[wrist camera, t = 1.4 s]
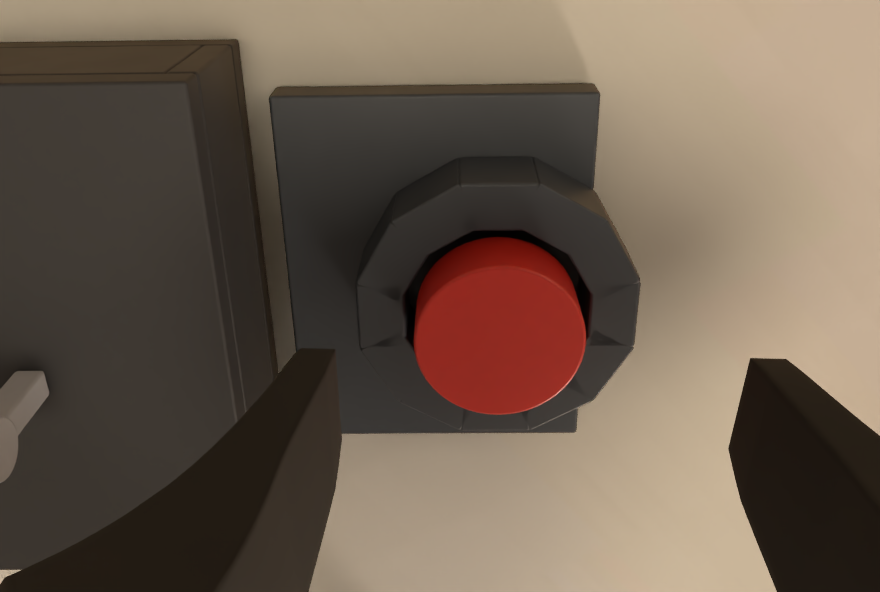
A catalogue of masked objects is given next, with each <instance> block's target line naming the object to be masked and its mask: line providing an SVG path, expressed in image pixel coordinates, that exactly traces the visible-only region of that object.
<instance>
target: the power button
mask: <svg viewBox="0 0 880 592" xmlns="http://www.w3.org/2000/svg"><path fill="white" fill-rule="evenodd" d="M585 346H586V329H585V323H584V319H583V316H582V312H581V309H580V305H579V302H578V299H577V295H576V292H575V288H574V285H573V282H572V280H571V278H570V276H569V274H568V273H567V271H566V270H565V268H564V267H563V266H562V265H561V263H560V262H559V261H558V260H557V259H556V258H555V257H553V256H552V255H551V254H550V253H549V252H547V251H545V250H544V249H542V248H541V247H539V246H537V245H534V244H532V243H530V242H527V241H523V240H520V239H515V238H509V237H488V238H482V239H477V240H473V241H470V242H467V243H465V244H462V245H460V246H458V247H456V248H454V249H453V250H451V251H449V252H448V253H446V254H445V255H444V256H443V257H441V258H440V259H439V260H438V261H437V262H436V263H435V264H434V265H433V266H432V268H431V269H430V270H429V272H428V273H427V275H426V276H425V278H424V280H423V282H422V284H421V287H420V290H419V293H418V297H417V303H416V315H415V327H414V352H415V356H416V360H417V363H418V366H419V368H420V370H421V372H422V374H423V375H424V377H425V379H426V380H427V381H428V383H429V384H430V385H431V386H432V388H433V389H435V390H436V391H437V392H438V393H439V394H440V395H441V396H442V397H444V398H445V399H447V400H448V401H450V402H452V403H453V404H455V405H457V406H459V407H462V408H464V409H467V410H470V411H474V412H477V413H484V414H494V415H502V414H512V413H518V412H522V411H526V410H529V409H532V408H534V407H537V406H539V405H541V404H543V403H545V402H547V401H549V400H550V399H551V398H553V397H554V396H556V395H557V394H558V393H559V392H560V391H562V390H563V389H564V388H565V387H566V386H567V384H568V383H569V382H570V381H571V380H572V378H573V377H574V375H575V374H576V372H577V370H578V368H579V366H580V364H581V362H582V359H583V356H584V352H585Z"/></svg>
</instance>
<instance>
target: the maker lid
mask: <svg viewBox="0 0 880 592" xmlns="http://www.w3.org/2000/svg"><path fill="white" fill-rule="evenodd" d="M244 414H245V407H244V400H243V393H242V386H241V379H240V373H239V366H238V359H237V352H236V345H235V338H234V331H233V324H232V317H231V310H230V303H229V297H228V290H227V283H226V276H225V269H224V262H223V255H222V248H221V241H220V234H219V227H218V220H217V214H216V207H215V200H214V193H213V186H212V179H211V172H210V165H209V158H208V151H207V144H206V138H205V131H204V124H203V117H202V110H201V103H200V96H199V89H198V82H197V77H196V75H195V74H193V73H180V74H100V75H20V76H0V570H23V569H25V568H27V567H29V566H31V565H33V564H36V563H38V562H40V561H42V560H44V559H46V558H48V557H50V556H52V555H54V554H56V553H59V552H61V551H63V550H65V549H66V548H68V547H70V546H72V545H74V544H76V543H78V542H80V541H81V540H83V539H85V538H87V537H89V536H90V535H92V534H94V533H96V532H97V531H99V530H101V529H103V528H104V527H106V526H108V525H109V524H111V523H112V522H114V521H116V520H117V519H119V518H121V517H122V516H124V515H125V514H127V513H128V512H130V511H131V510H133V509H134V508H136V507H137V506H139V505H140V504H141V503H143V502H144V501H146V500H147V499H149V498H150V497H152V496H153V495H154V494H156V493H157V492H159V491H160V490H162V489H163V488H164V487H166V486H167V485H169V484H170V483H171V482H172V481H174V480H175V479H176V478H177V477H178V476H180V475H181V474H182V473H183V472H185V471H186V470H187V469H188V468H189V467H190V466H192V465H193V464H194V463H195V462H196V461H197V460H198V459H200V458H201V457H202V456H203V455H204V454H205V453H206V452H207V451H208V450H209V449H210V448H212V447H213V446H214V445H215V444H216V443H217V442H218V441H219V440H220V439H221V438H222V437H223V436H224V435H225V434H226V433H227V432H228V431H229V430H230V429H231V428H232V427H233V426H234V425H235V424H236V423H237V422H238V421H239V419H240V418H241V417H242V416H243V415H244Z"/></svg>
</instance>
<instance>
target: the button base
mask: <svg viewBox="0 0 880 592" xmlns="http://www.w3.org/2000/svg"><path fill="white" fill-rule="evenodd" d="M269 103H270V113H271V122H272V131H273V141H274V150H275V159H276V169H277V178H278V187H279V197H280V206H281V215H282V224H283V234H284V243H285V252H286V262H287V271H288V280H289V290H290V299H291V308H292V318H293V327H294V336H295V345H296V352H297V351H298V350H299V349H301V348H315V349H335V350H336V364H337V378H338V392H339V406H340V420H341V434H369V433H574V432H576V429H577V415H578V408H579V407H581V406H583V405H585V404H587V403H589V402H591V401H592V400H594V399H595V398H596V396H597V395H598V394H599V393H600V391H601V390H602V389H603V387H604V386H605V385H606V384H607V382H608V381H609V380H610V378H611V377H612V376H613V374H614V373H615V372H616V371H617V369H618V368H619V367H620V365H621V364H622V363H623V361H624V360H625V359H626V358H627V356H628V355H629V354H630V352H631V351H632V350H633V345H634V342H635V333H636V323H637V313H638V303H639V294H640V284H641V283H640V278H639V275H638V273H637V271H636V269H635V267H634V264H633V262H632V260H631V258H630V256H629V253H628V251H627V249H626V247H625V245H624V243H623V241H622V239H621V238H620V236H619V234H618V232H617V230H616V228H615V226H614V225H613V223H612V221H611V219H610V217H609V215H608V214H607V212H606V210H605V208H604V206H603V204H602V203H601V201H600V199H599V197H598V195H597V193H595V191H594V190H593V189H594V175H595V161H596V147H597V133H598V119H599V105H600V93H599V91H598V90H597V88H596V87H595V85H594V84H516V85H434V86H352V87H278V88H276V89H275V90H274V92H273V93H272V94H271V96H270V97H269ZM488 237H509V238H515V239H520V240H523V241H527V242H530V243H532V244H534V245H537V246H539V247H541V248H542V249H544V250H545V251H547V252H549V253H550V254H551V255H552V256H553V257H555V258H556V259H557V260H558V261H559V262H560V263H561V265H562V266H563V267H564V268H565V270H566V271H567V273H568V274H569V276H570V278H571V280H572V282H573V285H574V288H575V292H576V295H577V299H578V302H579V305H580V309H581V312H582V316H583V319H584V323H585V329H586V346H585V352H584V356H583V359H582V362H581V364H580V366H579V368H578V370H577V372H576V374H575V375H574V377H573V378H572V380H571V381H570V382H569V383H568V384H567V386H566V387H565V388H564V389H563V390H562V391H560V392H559V393H558V394H557V395H556V396H554V397H553V398H551V399H550V400H549V401H547V402H545V403H543V404H541V405H539V406H537V407H534V408H532V409H529V410H526V411H522V412H518V413H512V414H502V415H494V414H484V413H477V412H474V411H470V410H467V409H464V408H462V407H459V406H457V405H455V404H453V403H452V402H450V401H448V400H447V399H445V398H444V397H442V396H441V395H440V394H439V393H438V392H437V391H436V390H435V389H433V388H432V386H431V385H430V384H429V383H428V381H427V380H426V379H425V377H424V375H423V374H422V372H421V370H420V368H419V366H418V363H417V360H416V356H415V352H414V327H415V315H416V303H417V297H418V293H419V290H420V287H421V284H422V282H423V280H424V278H425V276H426V275H427V273H428V272H429V270H430V269H431V268H432V266H433V265H434V264H435V263H436V262H437V261H438V260H439V259H440V258H441V257H443V256H444V255H445V254H446V253H448V252H449V251H451V250H453V249H454V248H456V247H458V246H460V245H462V244H465V243H467V242H470V241H473V240H477V239H482V238H488Z"/></svg>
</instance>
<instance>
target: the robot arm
mask: <svg viewBox="0 0 880 592" xmlns="http://www.w3.org/2000/svg"><path fill="white" fill-rule="evenodd" d="M341 442H342V434H341V420H340V406H339V392H338V378H337V364H336V350H335V349H315V348H301V349H299V350H298V351H297V352H296V353H295V354H294V355H293V357H292V358H291V359H290V361H289V362H288V363H287V364H286V366H285V367H284V368H283V369H282V371H281V372H280V373H279V374H278V376H277V377H276V378H275V379H274V381H273V382H272V383H271V384H270V385H269V387H268V388H267V389H266V390H265V391H264V393H263V394H262V395H261V396H260V397H259V398H258V399H257V401H256V402H255V403H254V404H253V405H252V406H251V407H250V408H249V409H248V411H247V412H246V413H245V414H244V415H243V416H242V417H241V418H240V419H239V421H238V422H237V423H236V424H235V425H234V426H233V427H232V428H231V429H230V430H229V431H228V432H227V433H226V434H225V435H224V436H223V437H222V438H221V439H220V440H219V441H218V442H217V443H216V444H215V445H214V446H213V447H212V448H210V449H209V450H208V451H207V452H206V453H205V454H204V455H203V456H202V457H201V458H200V459H198V460H197V461H196V462H195V463H194V464H193V465H192V466H190V467H189V468H188V469H187V470H186V471H185V472H183V473H182V474H181V475H180V476H178V477H177V478H176V479H175V480H174V481H172V482H171V483H170V484H169V485H167V486H166V487H164V488H163V489H162V490H160V491H159V492H157V493H156V494H154V495H153V496H152V497H150V498H149V499H147V500H146V501H144V502H143V503H141V504H140V505H139V506H137V507H136V508H134V509H133V510H131V511H130V512H128V513H127V514H125V515H124V516H122V517H121V518H119V519H117V520H116V521H114V522H112V523H111V524H109V525H108V526H106V527H104V528H103V529H101V530H99V531H97V532H96V533H94V534H92V535H90V536H89V537H87V538H85V539H83V540H81V541H80V542H78V543H76V544H74V545H72V546H70V547H68V548H66V549H65V550H63V551H61V552H59V553H56V554H54V555H52V556H50V557H48V558H46V559H44V560H42V561H40V562H38V563H36V564H33V565H31V566H29V567H27V568H25V569H23V570H21V571H19V572H17V573H14V574H12V575H10V576H7V577H5V578H4V580H3V581H2V583H1V584H0V592H308V591H309V588H310V584H311V580H312V576H313V572H314V569H315V565H316V561H317V557H318V554H319V550H320V546H321V542H322V538H323V535H324V531H325V527H326V523H327V519H328V515H329V512H330V508H331V504H332V500H333V496H334V492H335V487H336V480H337V473H338V465H339V457H340V450H341ZM728 449H729V453H730V458H731V462H732V467H733V471H734V475H735V480H736V483H737V487H738V491H739V495H740V499H741V502H742V505H743V507H744V510H745V513H746V515H747V518H748V520H749V523H750V525H751V528H752V530H753V533H754V536H755V538H756V541H757V543H758V546H759V548H760V551H761V553H762V556H763V558H764V560H765V563H766V565H767V568H768V570H769V573H770V575H771V578H772V580H773V583H774V585H775V588H776V590H777V592H880V436H879V435H878V434H877V433H875V432H874V431H873V430H872V429H870V428H869V427H868V426H867V425H865V424H864V423H863V422H862V421H860V420H859V419H858V418H857V417H856V416H854V415H853V414H852V413H851V412H850V411H848V410H847V409H846V408H845V407H843V406H842V405H841V404H840V403H839V402H838V401H836V400H835V399H834V398H833V397H832V396H830V395H829V394H828V393H827V392H826V391H825V390H823V389H822V388H821V387H820V386H819V385H817V384H816V383H815V382H814V381H813V380H811V379H810V378H809V377H808V376H807V375H806V374H804V373H803V372H802V371H801V370H799V369H798V368H797V367H796V366H794V365H793V364H792V363H790V362H789V361H788V360H786V359H759V358H750V362H749V366H748V370H747V374H746V378H745V382H744V386H743V391H742V395H741V399H740V403H739V407H738V411H737V415H736V420H735V424H734V428H733V432H732V436H731V440H730V444H729V448H728Z"/></svg>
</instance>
